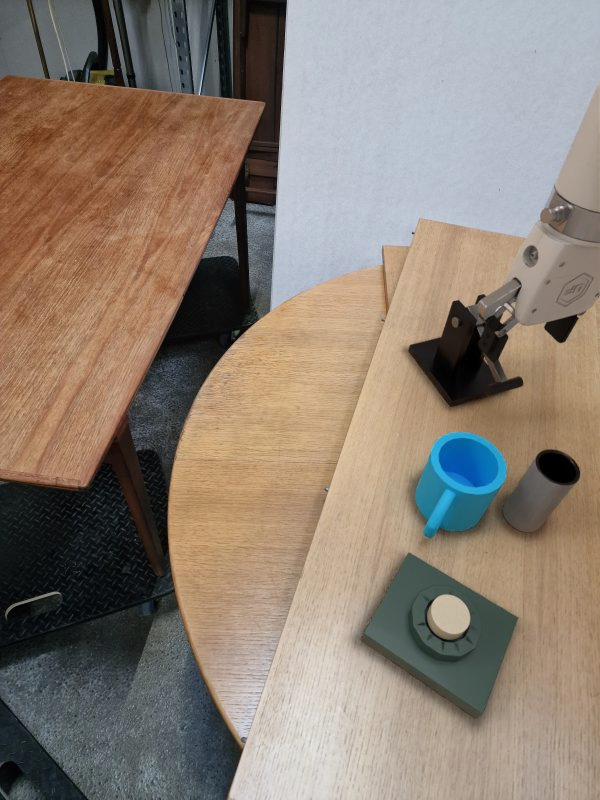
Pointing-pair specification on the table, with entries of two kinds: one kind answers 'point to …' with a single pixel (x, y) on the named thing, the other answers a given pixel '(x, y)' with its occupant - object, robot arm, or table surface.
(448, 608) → the stop button
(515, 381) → the press lever
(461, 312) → the lever bracket
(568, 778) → the table surface
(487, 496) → the mug
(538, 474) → the grey hollow cylinder
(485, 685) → the button housing
